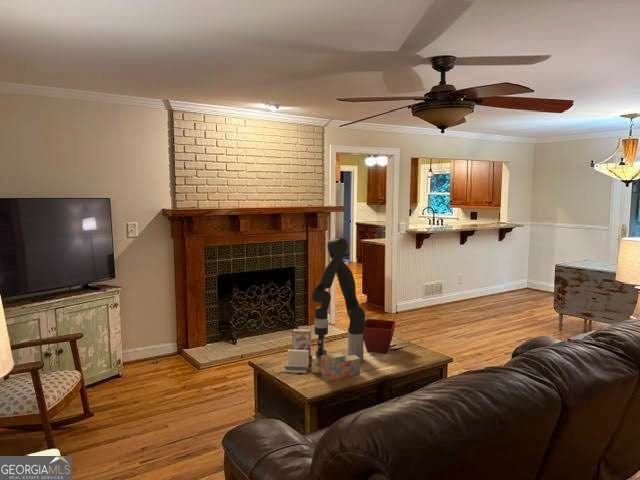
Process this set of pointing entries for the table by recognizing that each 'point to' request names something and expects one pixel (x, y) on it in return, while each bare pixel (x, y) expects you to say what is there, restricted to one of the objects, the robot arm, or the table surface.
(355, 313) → the robot arm
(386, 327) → the plant pot
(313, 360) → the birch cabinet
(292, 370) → the cleat board
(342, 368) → the stack of blocks
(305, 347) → the candy bar box
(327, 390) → the table surface
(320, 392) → the table surface
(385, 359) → the table surface
